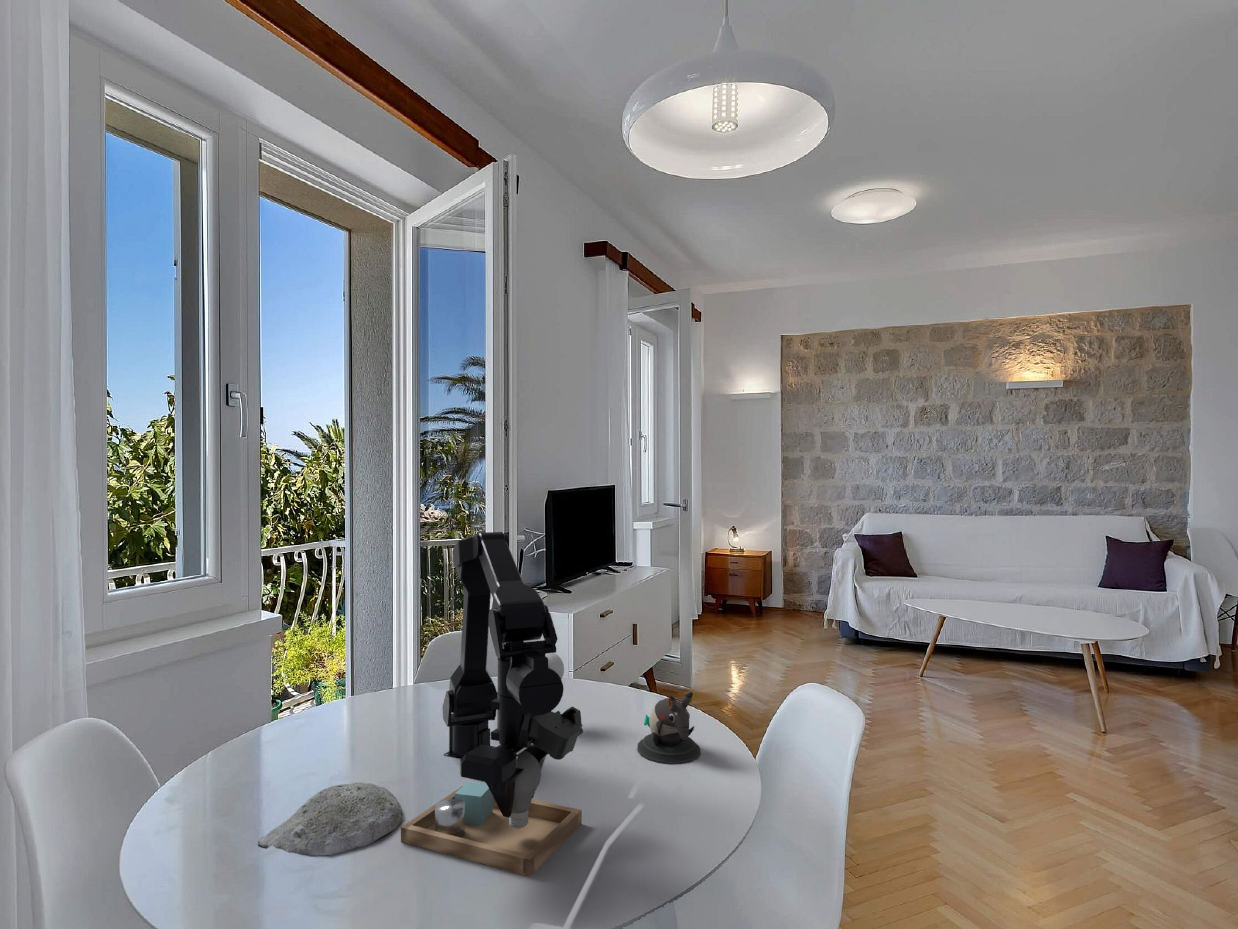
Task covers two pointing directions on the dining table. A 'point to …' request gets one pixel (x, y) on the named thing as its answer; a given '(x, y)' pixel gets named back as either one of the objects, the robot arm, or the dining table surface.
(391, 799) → the stone
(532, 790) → the light bulb
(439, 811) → the grey metal cylinder
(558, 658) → the lollipop
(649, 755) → the figurine
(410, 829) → the tray
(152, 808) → the dining table surface
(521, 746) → the robot arm
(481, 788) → the teal block
